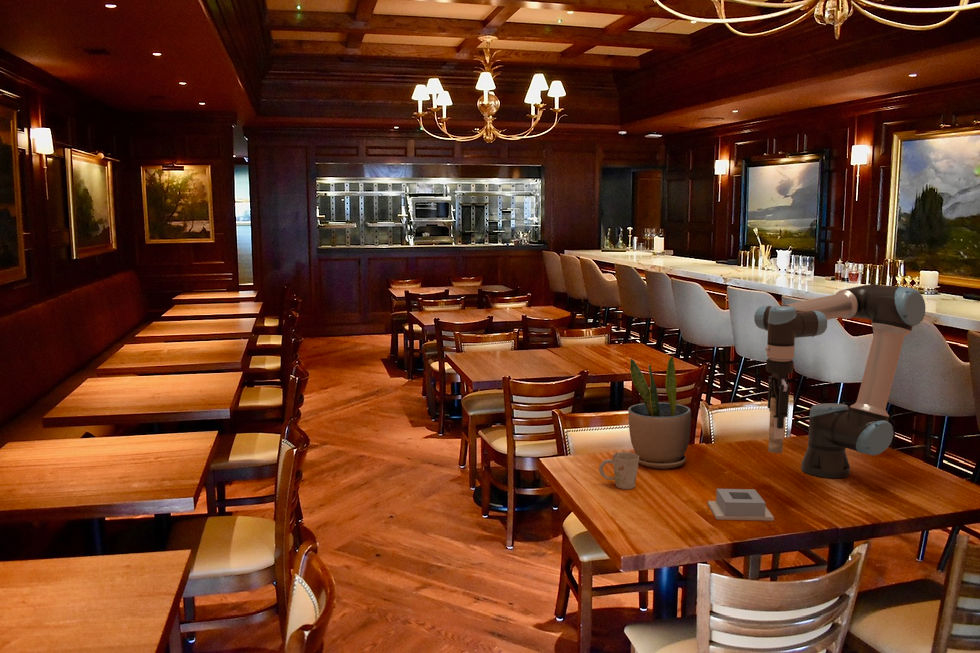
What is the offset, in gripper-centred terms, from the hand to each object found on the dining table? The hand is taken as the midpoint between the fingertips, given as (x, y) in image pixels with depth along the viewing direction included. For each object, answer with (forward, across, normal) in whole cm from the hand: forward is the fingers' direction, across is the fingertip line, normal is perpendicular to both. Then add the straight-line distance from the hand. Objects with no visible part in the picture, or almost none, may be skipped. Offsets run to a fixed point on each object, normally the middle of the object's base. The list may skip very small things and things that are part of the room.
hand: (776, 436), depth 236 cm
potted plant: (+21, -36, -29) cm, 51 cm away
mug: (+21, -12, -45) cm, 51 cm away
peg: (+5, 0, 0) cm, 5 cm away
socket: (+20, +9, -12) cm, 25 cm away
